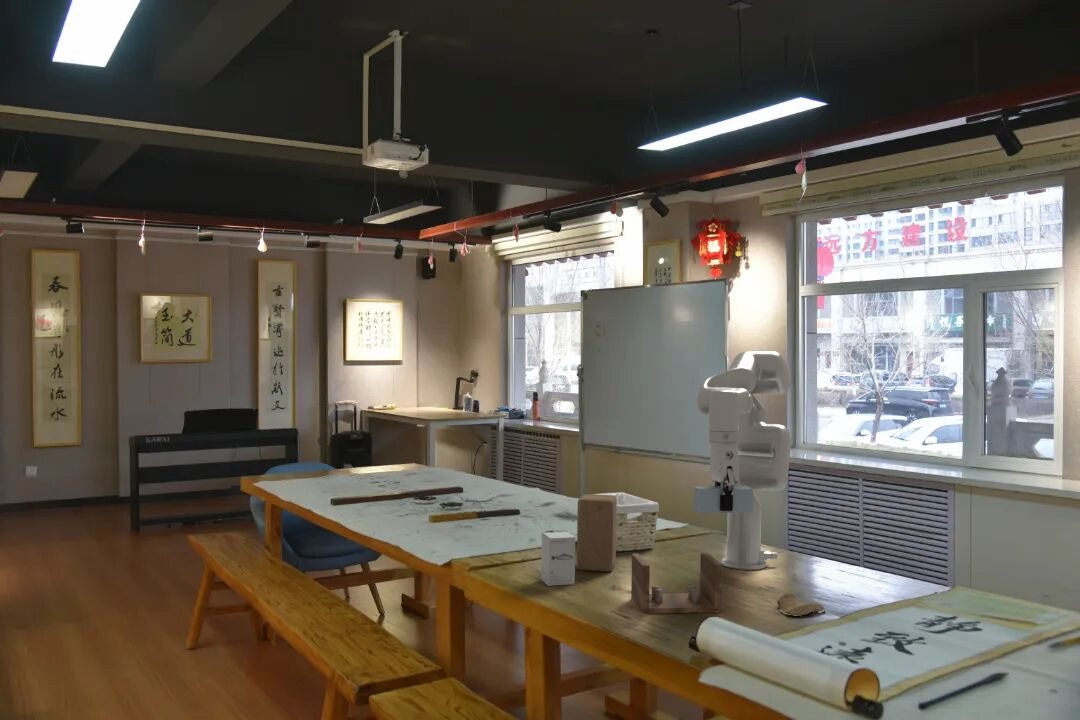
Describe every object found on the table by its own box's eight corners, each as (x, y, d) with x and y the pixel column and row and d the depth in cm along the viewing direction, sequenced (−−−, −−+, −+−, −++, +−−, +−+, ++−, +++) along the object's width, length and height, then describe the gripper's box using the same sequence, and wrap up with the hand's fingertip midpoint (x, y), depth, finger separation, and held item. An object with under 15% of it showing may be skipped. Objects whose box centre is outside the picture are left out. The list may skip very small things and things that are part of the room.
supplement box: (548, 586, 224) (548, 538, 224) (540, 579, 231) (541, 532, 231) (575, 585, 226) (576, 536, 226) (567, 577, 233) (567, 531, 233)
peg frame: (706, 597, 216) (706, 552, 216) (721, 611, 204) (722, 564, 204) (631, 599, 214) (631, 553, 214) (642, 613, 202) (642, 565, 202)
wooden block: (612, 572, 239) (612, 500, 239) (576, 570, 241) (577, 498, 241) (616, 564, 249) (617, 494, 249) (581, 562, 251) (582, 493, 251)
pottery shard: (827, 619, 205) (798, 599, 213) (830, 603, 204) (800, 583, 212) (793, 628, 200) (764, 607, 208) (796, 611, 199) (766, 590, 207)
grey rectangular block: (745, 508, 225) (746, 485, 225) (752, 512, 220) (753, 488, 220) (693, 509, 224) (693, 486, 224) (699, 513, 219) (699, 489, 219)
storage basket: (578, 538, 284) (579, 493, 284) (622, 535, 290) (622, 491, 290) (614, 554, 262) (615, 505, 262) (660, 550, 269) (661, 502, 269)
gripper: (749, 441, 214) (748, 514, 214) (726, 434, 231) (725, 502, 231) (719, 441, 213) (718, 515, 213) (699, 434, 230) (698, 503, 230)
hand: (722, 507), depth 222 cm, fingers closed on grey rectangular block, 5 cm apart
